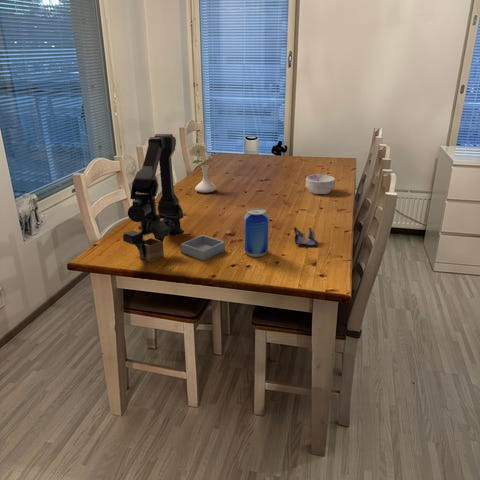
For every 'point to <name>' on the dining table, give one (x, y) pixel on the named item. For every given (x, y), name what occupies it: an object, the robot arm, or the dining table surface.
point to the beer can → (256, 232)
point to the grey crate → (203, 247)
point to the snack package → (301, 236)
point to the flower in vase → (205, 183)
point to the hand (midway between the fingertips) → (151, 253)
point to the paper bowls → (320, 184)
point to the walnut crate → (153, 250)
